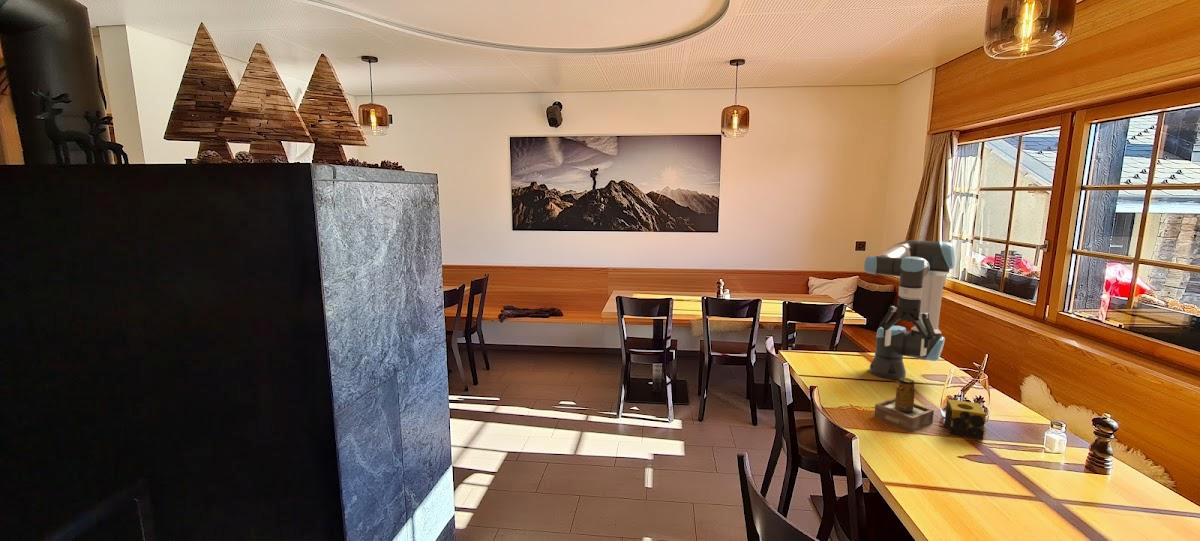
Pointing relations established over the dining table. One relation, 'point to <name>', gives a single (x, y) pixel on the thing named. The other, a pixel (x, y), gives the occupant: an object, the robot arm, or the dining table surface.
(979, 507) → the dining table surface
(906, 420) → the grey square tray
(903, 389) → the condiment
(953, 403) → the yellow black cube
